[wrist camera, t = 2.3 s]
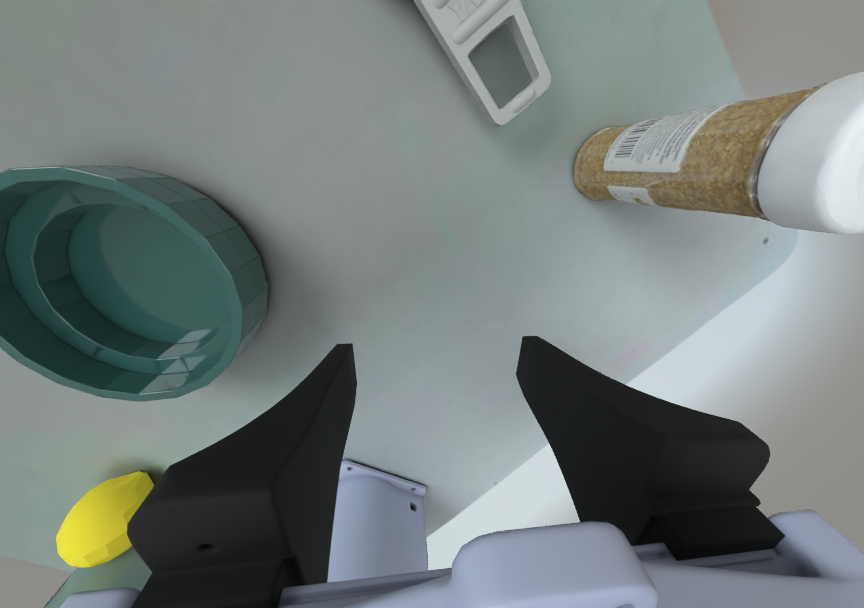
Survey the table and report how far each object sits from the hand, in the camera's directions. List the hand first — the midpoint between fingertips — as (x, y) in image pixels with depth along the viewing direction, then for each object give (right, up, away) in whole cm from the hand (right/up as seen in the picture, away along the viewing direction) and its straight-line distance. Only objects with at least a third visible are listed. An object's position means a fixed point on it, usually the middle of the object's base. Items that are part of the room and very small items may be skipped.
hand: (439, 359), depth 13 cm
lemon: (-25, -14, +9) cm, 30 cm away
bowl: (-18, +4, +7) cm, 20 cm away
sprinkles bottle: (+11, +12, +8) cm, 18 cm away
